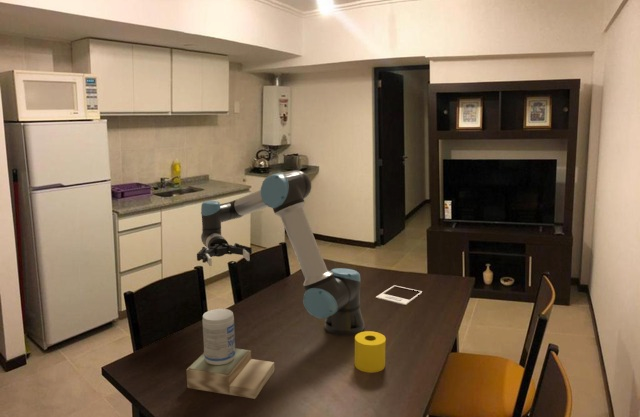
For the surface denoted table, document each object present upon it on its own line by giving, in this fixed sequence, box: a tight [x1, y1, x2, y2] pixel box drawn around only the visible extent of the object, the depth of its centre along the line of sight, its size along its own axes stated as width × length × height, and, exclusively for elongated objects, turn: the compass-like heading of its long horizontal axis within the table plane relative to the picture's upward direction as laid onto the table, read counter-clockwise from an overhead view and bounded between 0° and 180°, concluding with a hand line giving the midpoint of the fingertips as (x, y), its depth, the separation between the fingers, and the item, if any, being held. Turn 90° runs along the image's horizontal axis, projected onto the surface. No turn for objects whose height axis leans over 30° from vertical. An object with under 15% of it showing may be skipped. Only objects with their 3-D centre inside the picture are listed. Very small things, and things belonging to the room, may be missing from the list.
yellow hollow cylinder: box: [354, 330, 387, 373], centre depth 157 cm, size 10×10×9 cm
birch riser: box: [185, 347, 275, 400], centre depth 149 cm, size 22×16×6 cm
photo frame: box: [375, 284, 423, 306], centre depth 218 cm, size 15×1×18 cm
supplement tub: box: [202, 308, 236, 365], centre depth 148 cm, size 10×10×15 cm
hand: (229, 259), depth 169 cm, fingers open, 13 cm apart
